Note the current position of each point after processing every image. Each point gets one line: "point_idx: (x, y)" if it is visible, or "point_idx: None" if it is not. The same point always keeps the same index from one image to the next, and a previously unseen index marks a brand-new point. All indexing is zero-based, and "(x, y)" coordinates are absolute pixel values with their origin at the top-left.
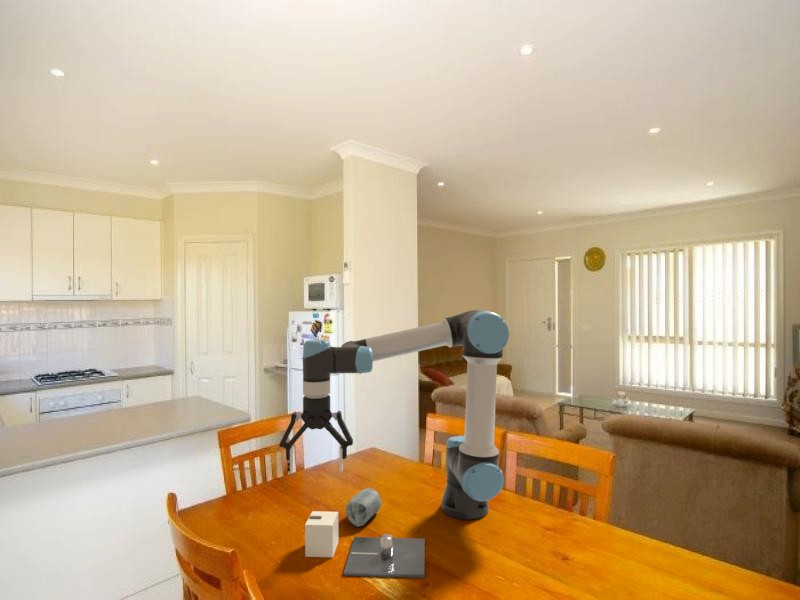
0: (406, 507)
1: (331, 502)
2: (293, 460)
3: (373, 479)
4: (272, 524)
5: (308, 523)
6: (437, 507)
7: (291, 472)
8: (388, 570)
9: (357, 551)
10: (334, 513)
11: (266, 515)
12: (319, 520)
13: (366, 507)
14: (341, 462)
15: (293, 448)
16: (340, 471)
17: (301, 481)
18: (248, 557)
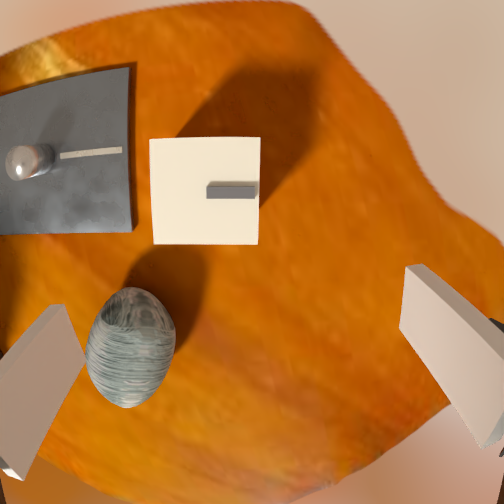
0: None
1: (247, 397)
2: (442, 342)
3: (175, 468)
4: (381, 293)
5: (249, 147)
6: None
7: (416, 267)
8: (33, 96)
9: (108, 160)
10: (164, 230)
11: None
12: (210, 173)
13: (99, 318)
14: (21, 341)
15: (499, 414)
16: (56, 305)
17: (336, 455)
18: (403, 140)
